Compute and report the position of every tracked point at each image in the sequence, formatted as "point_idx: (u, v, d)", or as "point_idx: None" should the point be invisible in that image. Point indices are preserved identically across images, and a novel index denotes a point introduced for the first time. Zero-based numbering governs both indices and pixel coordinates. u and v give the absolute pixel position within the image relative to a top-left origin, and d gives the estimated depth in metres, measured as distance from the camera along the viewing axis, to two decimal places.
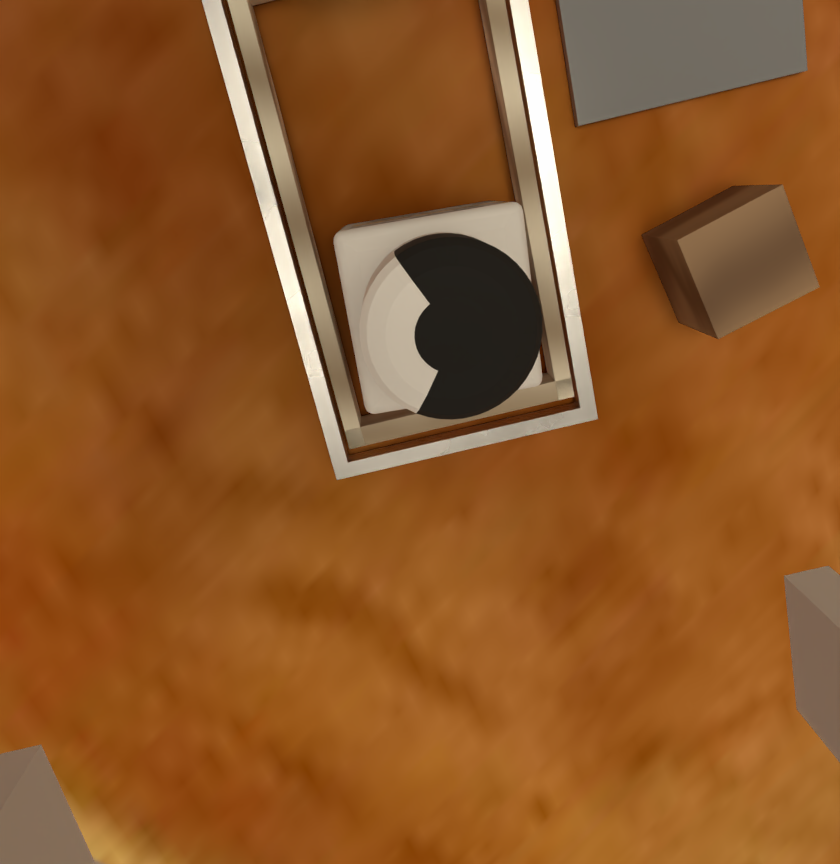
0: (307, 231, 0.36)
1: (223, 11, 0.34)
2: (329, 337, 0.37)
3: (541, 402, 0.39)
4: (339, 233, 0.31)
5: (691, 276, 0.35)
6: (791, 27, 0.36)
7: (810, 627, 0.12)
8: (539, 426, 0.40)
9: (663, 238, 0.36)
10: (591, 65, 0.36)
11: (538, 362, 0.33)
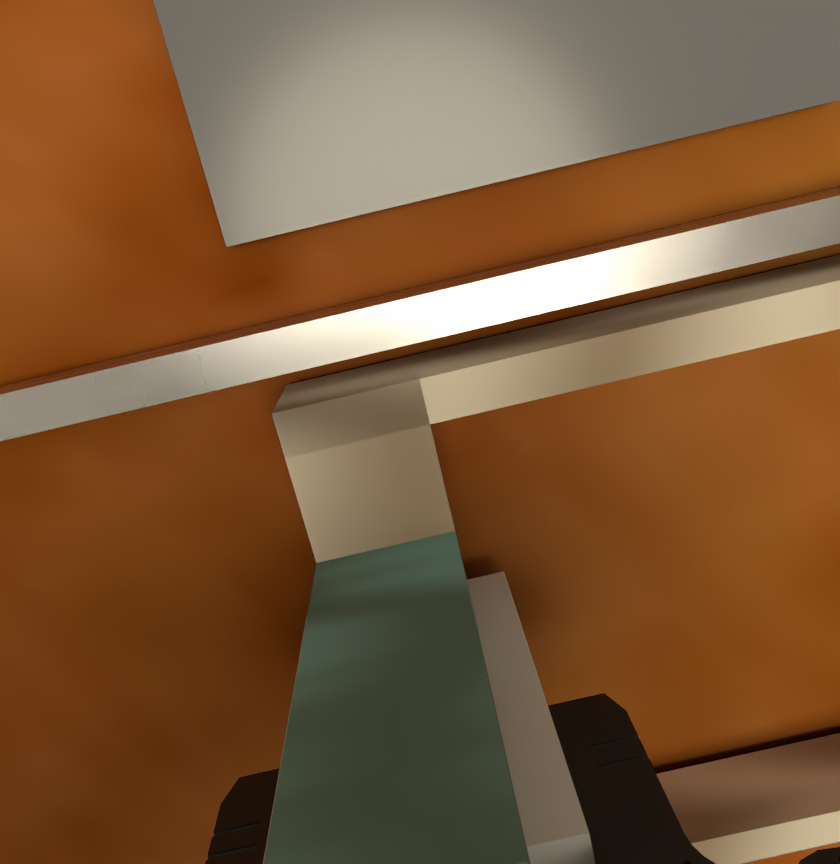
0: None
1: None
2: None
3: None
4: None
5: None
6: None
7: None
8: None
9: None
10: (700, 68, 0.13)
11: None
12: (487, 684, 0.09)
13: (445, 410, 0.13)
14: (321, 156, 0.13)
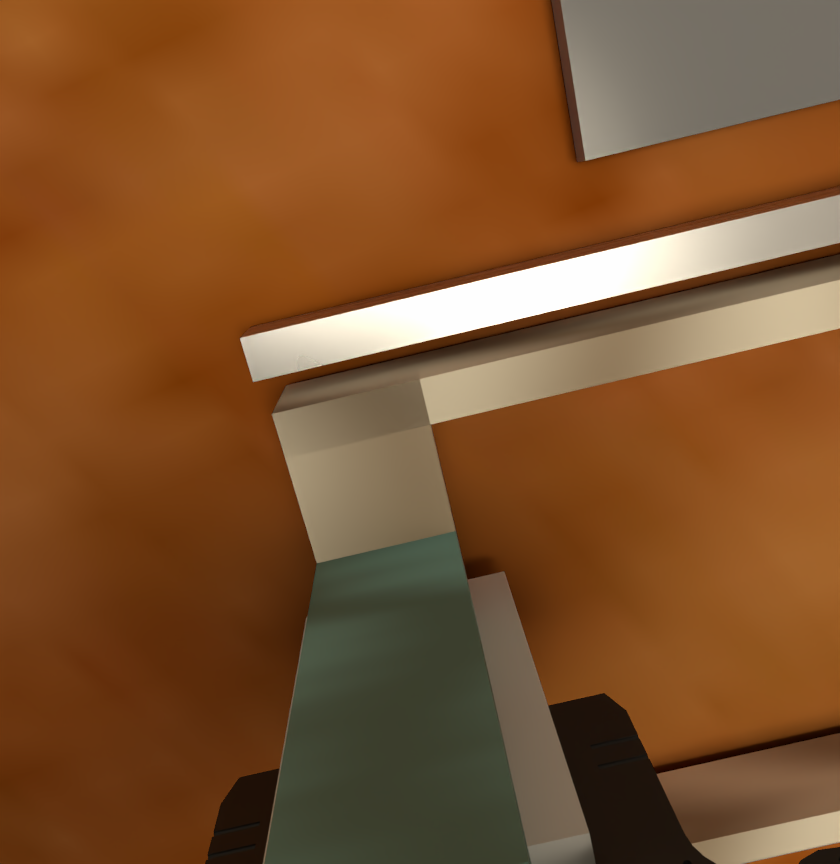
0: None
1: None
2: None
3: None
4: None
5: None
6: None
7: None
8: None
9: None
10: None
11: None
12: (488, 684, 0.09)
13: (445, 410, 0.13)
14: (691, 66, 0.13)
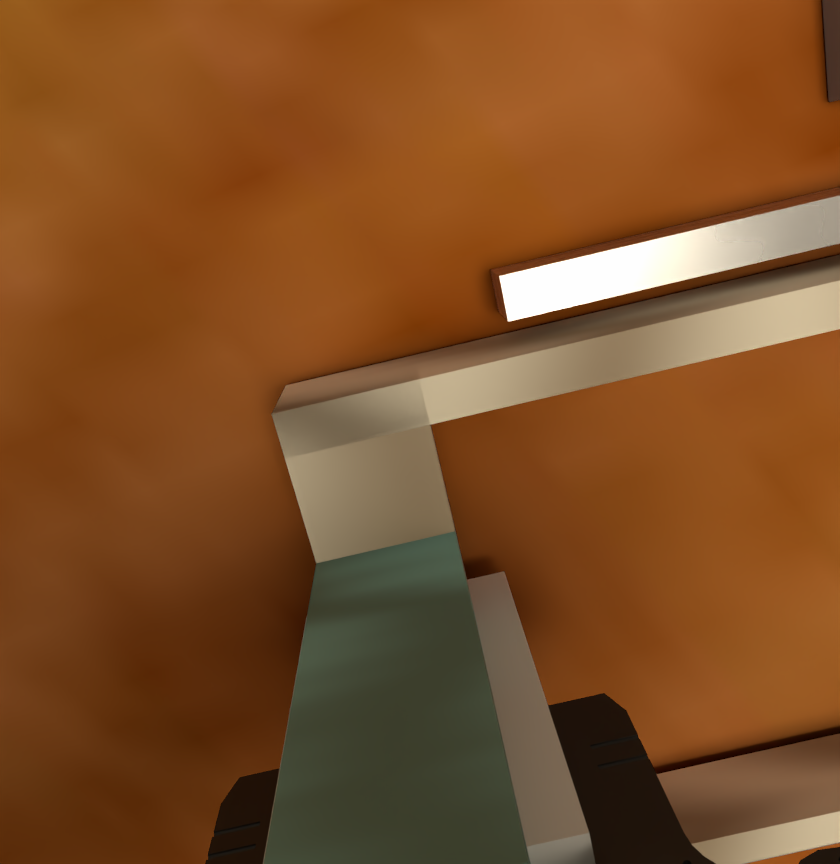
0: None
1: None
2: None
3: None
4: None
5: None
6: None
7: None
8: None
9: None
10: None
11: None
12: (487, 685, 0.09)
13: (445, 410, 0.13)
14: None
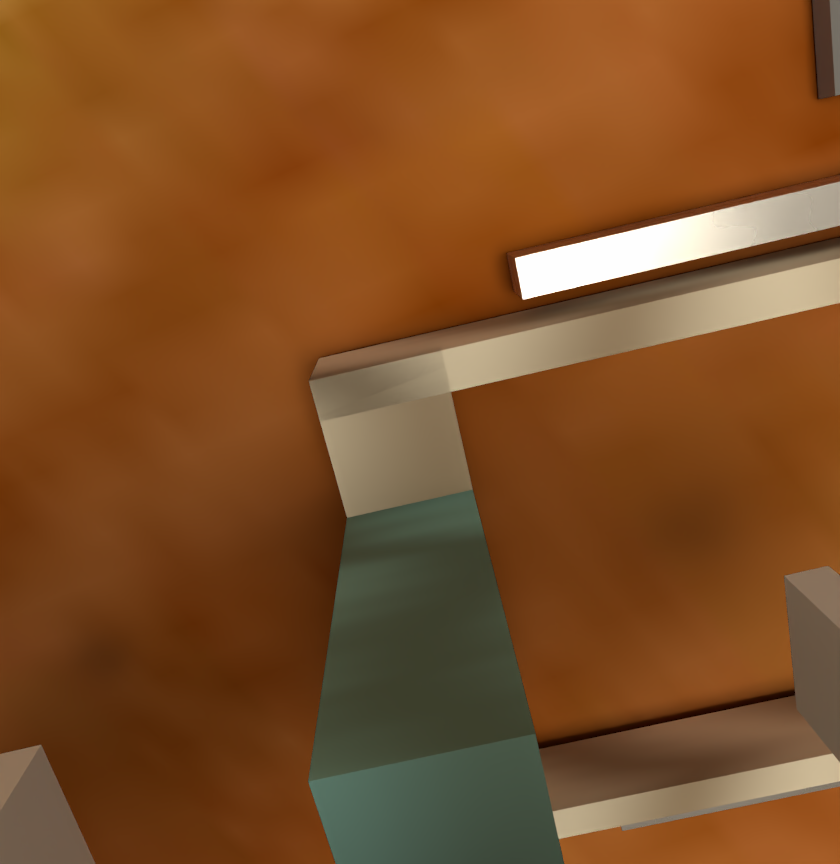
0: None
1: None
2: None
3: None
4: None
5: None
6: None
7: (810, 627, 0.12)
8: None
9: None
10: None
11: None
12: (502, 608, 0.11)
13: (464, 379, 0.14)
14: None
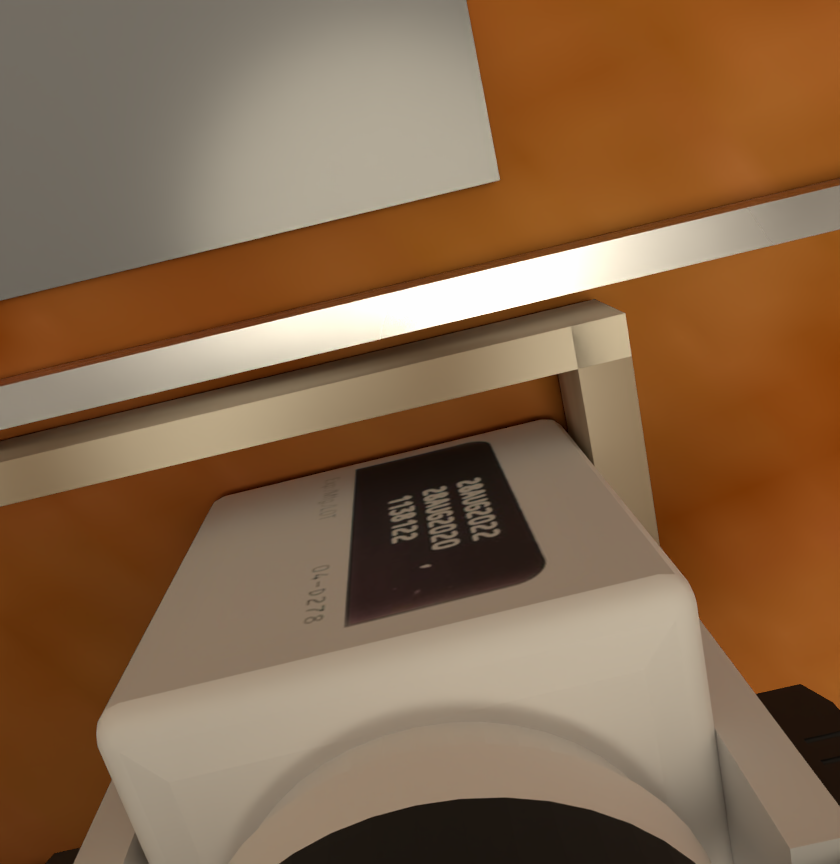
0: None
1: None
2: None
3: (633, 402, 0.14)
4: None
5: None
6: None
7: None
8: None
9: None
10: (359, 155, 0.14)
11: (612, 610, 0.09)
12: None
13: None
14: (15, 234, 0.14)
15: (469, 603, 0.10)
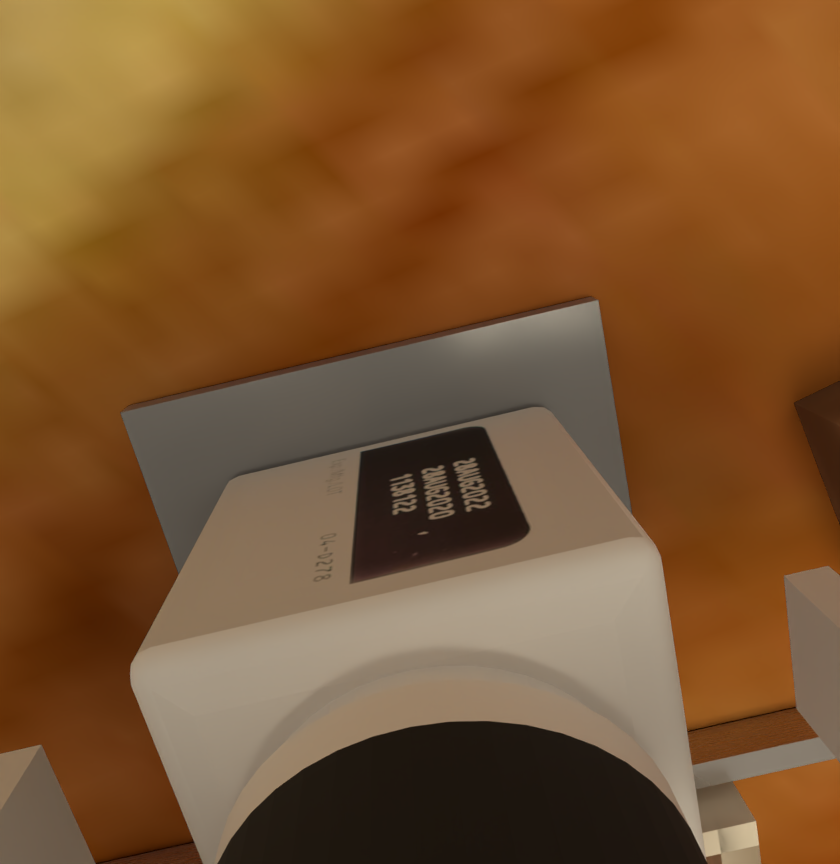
0: None
1: None
2: None
3: None
4: None
5: None
6: (515, 346, 0.17)
7: (810, 627, 0.12)
8: None
9: None
10: None
11: (586, 568, 0.11)
12: None
13: None
14: None
15: (461, 563, 0.11)
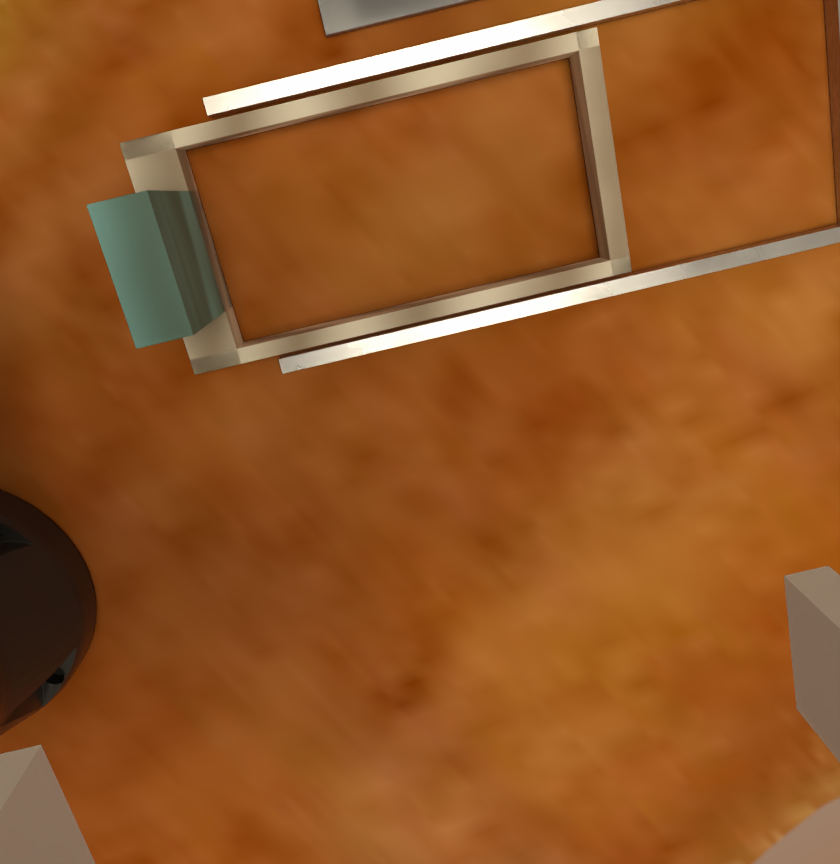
0: (425, 304, 0.40)
1: (450, 319, 0.41)
2: (521, 287, 0.40)
3: (600, 65, 0.37)
4: None
5: None
6: None
7: (810, 627, 0.12)
8: None
9: None
10: None
11: None
12: (164, 191, 0.33)
13: (180, 143, 0.37)
14: (360, 0, 0.37)
15: None
